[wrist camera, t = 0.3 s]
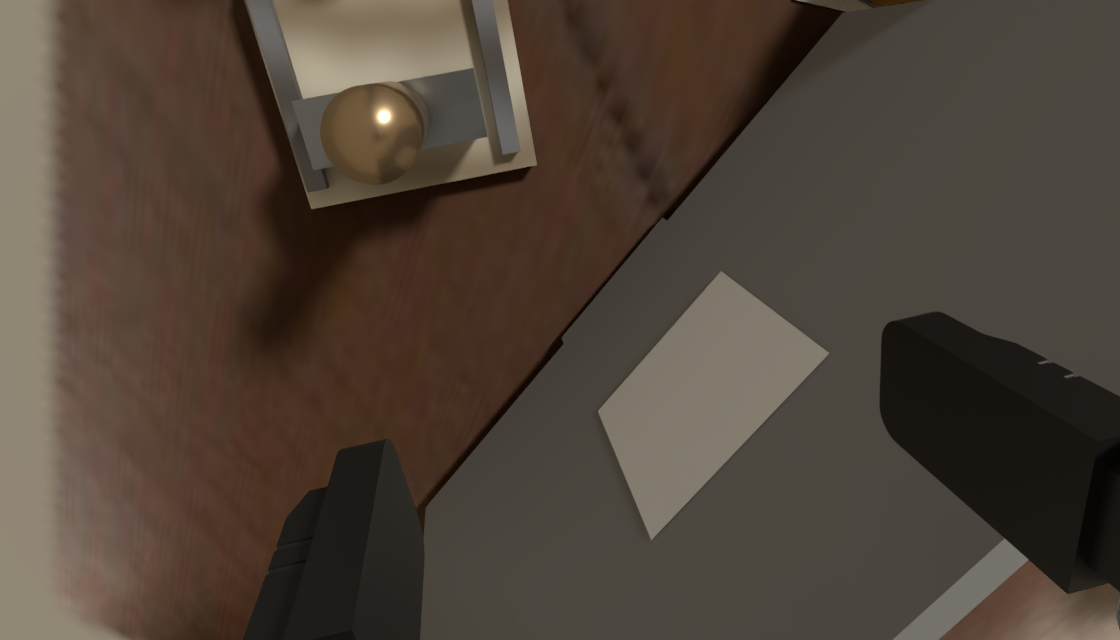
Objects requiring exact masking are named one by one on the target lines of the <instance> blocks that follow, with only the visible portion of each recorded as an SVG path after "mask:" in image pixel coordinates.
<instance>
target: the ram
mask: <svg viewBox="0 0 1120 640" xmlns="http://www.w3.org/2000/svg"><path fill="white" fill-rule="evenodd" d="M292 104H293V107H294V110H295V113H296V117H297V120H298V123H299V126H300V129H301V132H302V136H303V139H304V142H305V145H306V148H307V152H308V155H309V158H310V161H311V164H312V168H313V170H318V169H323V168H328V167H333V166H334V167H335V168H336V169H337V170H338V171H339V172H341V173H342V174H343V175H345V176H346V177H348V178H350V179H351V180H354V181H356V182H359V183H363V184H368V185H380V184H386V183H390V182H392V181H395V180H396V179H398V178H400V177H401V176H403V175H404V174H405V173H406V172H407V171H408V170H409V169H410V168H411V166H412V165H413V163H414V161H415V159H416V157H417V155H418V153H419V151H420V150H422V149H427V148H432V147H438V146H443V145H448V144H453V143H458V142H464V141H469V140H474V139H479V138H485V137H488V136H487V131H486V126H485V121H484V116H483V111H482V106H481V101H480V97H479V92H478V87H477V82H476V77H475V72H474V68H470V69H465V70H459V71H454V72H448V73H443V74H437V75H432V76H426V77H421V78H415V79H410V80H405V81H399V82H392V81H387V82H379V83H372V84H365V85H358V86H354V87H350V88H348V89H345V90H343V91H342V92H339V93H334V94H328V95H323V96H317V97H312V98H306V99H301V100H295V101H292Z"/></svg>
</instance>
